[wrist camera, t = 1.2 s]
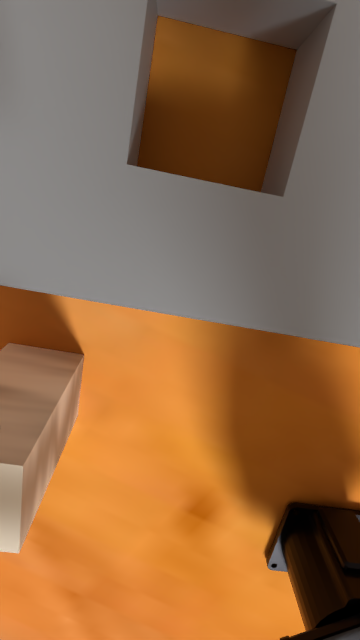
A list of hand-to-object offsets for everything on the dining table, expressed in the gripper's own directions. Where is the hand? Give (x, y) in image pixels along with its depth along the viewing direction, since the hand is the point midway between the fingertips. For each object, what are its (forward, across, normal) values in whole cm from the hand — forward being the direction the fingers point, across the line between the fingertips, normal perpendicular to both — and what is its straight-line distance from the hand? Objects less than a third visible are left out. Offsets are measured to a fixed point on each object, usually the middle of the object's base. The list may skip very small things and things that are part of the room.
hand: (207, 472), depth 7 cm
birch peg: (+13, +7, +7) cm, 16 cm away
